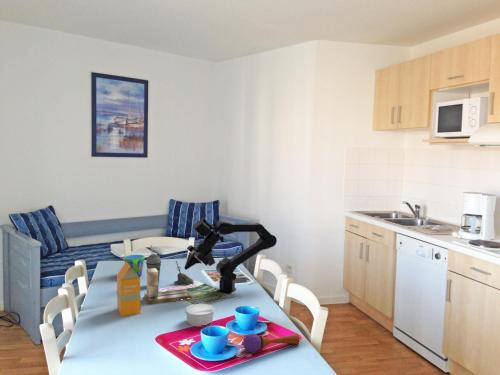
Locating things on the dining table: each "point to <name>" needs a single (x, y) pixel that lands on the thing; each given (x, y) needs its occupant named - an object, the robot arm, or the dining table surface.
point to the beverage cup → (154, 263)
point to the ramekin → (199, 314)
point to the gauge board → (168, 296)
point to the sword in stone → (183, 279)
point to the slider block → (152, 282)
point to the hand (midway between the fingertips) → (185, 269)
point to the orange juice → (128, 291)
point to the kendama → (266, 341)
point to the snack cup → (135, 263)
